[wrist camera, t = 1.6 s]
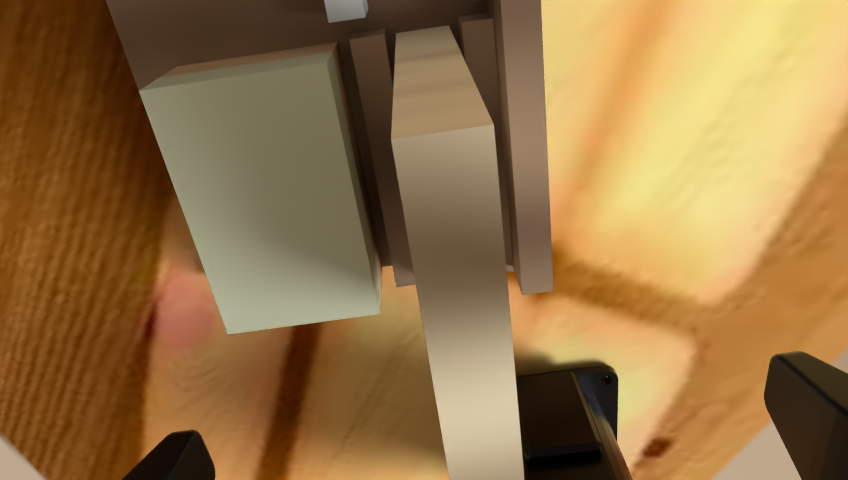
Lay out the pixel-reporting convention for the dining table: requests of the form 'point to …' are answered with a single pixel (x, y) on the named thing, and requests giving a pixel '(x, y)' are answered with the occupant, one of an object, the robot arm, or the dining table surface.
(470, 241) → the birch sheet
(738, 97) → the dining table surface
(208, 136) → the sage offcut
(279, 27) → the walnut rack
